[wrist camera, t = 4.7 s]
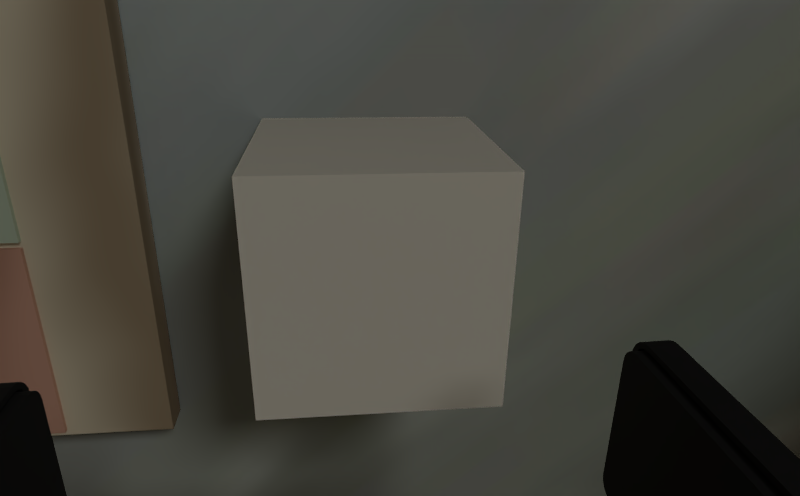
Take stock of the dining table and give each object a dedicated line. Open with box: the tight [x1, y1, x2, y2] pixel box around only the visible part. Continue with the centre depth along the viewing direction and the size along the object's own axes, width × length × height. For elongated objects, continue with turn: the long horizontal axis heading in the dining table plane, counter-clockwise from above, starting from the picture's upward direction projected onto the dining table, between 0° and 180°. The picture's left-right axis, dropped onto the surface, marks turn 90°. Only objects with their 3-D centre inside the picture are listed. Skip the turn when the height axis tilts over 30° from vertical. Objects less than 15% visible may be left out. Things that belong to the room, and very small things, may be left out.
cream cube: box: [232, 117, 525, 420], centre depth 16 cm, size 6×6×6 cm
